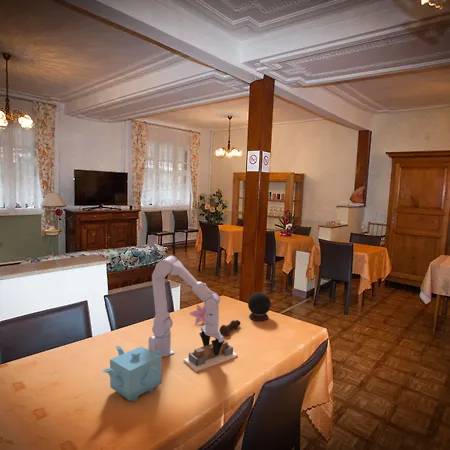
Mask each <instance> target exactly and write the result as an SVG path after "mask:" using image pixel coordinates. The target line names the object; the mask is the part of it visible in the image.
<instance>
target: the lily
mask: <svg viewBox="0 0 450 450" xmlns="http://www.w3.org/2000/svg"><path fill="white" fill-rule="evenodd" d="M189 316H192V317H194V318H195V323H194V324H195V325H197V324H199V323H200V322H202V323H203V324H204V325H205V321H206V308H205V306H204V305H203V306H200V305H199V304H196V310H194V311H191V312H189Z"/></svg>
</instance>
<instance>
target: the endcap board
mask: <svg viewBox="0 0 450 450" xmlns="http://www.w3.org/2000/svg"><path fill="white" fill-rule="evenodd" d="M238 356H239V355H238V353H236V352H235V351H234V347H233V346H231V345H230V344H229V343H228V348H226V349H224V354H223V355H221V356H218V357H215V358H212V359H209V360H206V357H205V356H203V357H200V358H197V357H195V356H194V351H192V352H188V357H186V358H183V362H184V363H185V364H186V365H187V366H188V367H190V368H191V369H193V370H194V371H195V372H199V371H202V370H204V369H207V368H209V367H213V366H215V365H218V364H220V363H223V362H224V363H225V362H227V361H228V360H232V359H235V358H237V357H238ZM205 360H206V361H205Z"/></svg>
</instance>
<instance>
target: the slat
mask: <svg viewBox="0 0 450 450" xmlns="http://www.w3.org/2000/svg"><path fill="white" fill-rule="evenodd" d="M228 344H229V342H228V341H227V340H225V339H224V343H223V344H222V346H221V349H220V352H219V355H217V356H214V351H213V345H212V343H209V345H207V346H203V345H202V347H198V348H194V349H193V352H194V356H195V357H197V358H200V357H203V356H205V357H206V360H209V359H212V358H215V357H218V356H221V355H223V354H224V349H226V348H228ZM206 360H205V361H206Z"/></svg>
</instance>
